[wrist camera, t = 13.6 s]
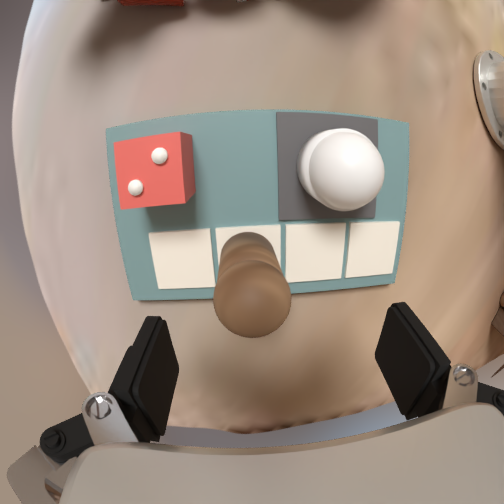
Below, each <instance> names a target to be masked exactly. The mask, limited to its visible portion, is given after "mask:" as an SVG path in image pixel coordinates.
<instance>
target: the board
mask: <svg viewBox="0 0 504 504" xmlns="http://www.w3.org/2000/svg"><path fill="white" fill-rule="evenodd" d="M340 128H346V129H352V130H355V131H358V132H360V133H362V134H363V135H365V136H366V137H367V138H368V139H369V140H370V141H371V142H372V143H373V144H374V146H375V147H376V148H377V150H378V151H379V153H380V155H381V157H382V160H383V163H384V171H385V174H384V181H383V185H382V187H381V189H380V191H379V193H378V194H377V196H376V197H375V198H374V199H373V200H372V201H371V202H369V203H368V204H366V205H364V206H362V207H360V208H358V209H355V210H351V211H337V210H333V209H331V208H328V207H327V206H325V205H323V204H322V203H321V202H319V201H318V200H316V199H315V198H313V197H312V196H311V195H309V194H308V193H307V192H306V190H305V189H304V188H303V186H302V185H301V183H300V180H299V177H298V173H297V158H298V155H299V152H300V149H301V147H302V146H303V144H304V143H305V142H306V141H307V140H308V139H309V138H310V137H311V136H313V135H314V134H316V133H318V132H322V131H326V130H333V129H340ZM106 142H107V156H108V167H109V177H110V186H111V194H112V201H113V208H114V214H115V220H116V226H117V232H118V237H119V242H120V247H121V252H122V257H123V262H124V266H125V270H126V275H127V279H128V283H129V287H130V291H131V294H132V298H133V300H180V299H209V298H213V295H214V290H215V286H216V283H217V278H218V270H219V262H220V255H221V250H222V248H223V246H224V244H225V243H226V241H227V240H228V239H229V238H231V237H232V236H234V235H236V234H238V233H242V232H254V233H258V234H260V235H262V236H264V237H265V238H266V239H267V240H268V241H269V242H270V243H271V245H272V246H273V249H274V251H275V254H276V257H277V260H278V262H279V265H280V268H281V270H282V273H283V276H284V277H285V278H286V280H287V282H288V284H289V287H290V291H291V294H293V293H305V292H317V291H327V290H338V289H348V288H357V287H366V286H375V285H383V284H391V283H395V278H396V273H397V268H398V262H399V256H400V250H401V244H402V237H403V230H404V222H405V213H406V202H407V190H408V173H409V123H406V122H401V121H396V120H390V119H384V118H378V117H371V116H364V115H356V114H347V113H336V112H324V111H308V110H236V111H219V112H207V113H196V114H187V115H179V116H172V117H165V118H158V119H152V120H146V121H141V122H136V123H130V124H126V125H121V126H116V127H112V128H108V129H106Z"/></svg>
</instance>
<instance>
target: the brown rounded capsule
mask: <svg viewBox="0 0 504 504" xmlns="http://www.w3.org/2000/svg"><path fill="white" fill-rule="evenodd" d="M213 304H214V308H215V312H216V314H217V316H218V318H219V320H220V321H221V323H222V324H223V325H224V326H225V327H226V328H227V329H228V330H230V331H231V332H233V333H235V334H237V335H239V336H243V337H248V338H256V337H262V336H265V335H268V334H270V333H272V332H274V331H275V330H276V329H278V328H279V327H280V326H281V325H282V324H283V322H284V321H285V319H286V318H287V316H288V314H289V311H290V307H291V291H290V287H289V284H288V282H287V280H286V278H285V277H284V276H283V273H282V270H281V268H280V265H279V262H278V260H277V257H276V254H275V251H274V249H273V246H272V245H271V243H270V242H269V241H268V240H267V239H266V238H265V237H264V236H262V235H260V234H258V233H254V232H242V233H238V234H236V235H234V236H232V237H231V238H229V239H228V240H227V241H226V243H225V244H224V246H223V248H222V250H221V255H220V262H219V270H218V278H217V283H216V286H215V290H214V295H213Z"/></svg>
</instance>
